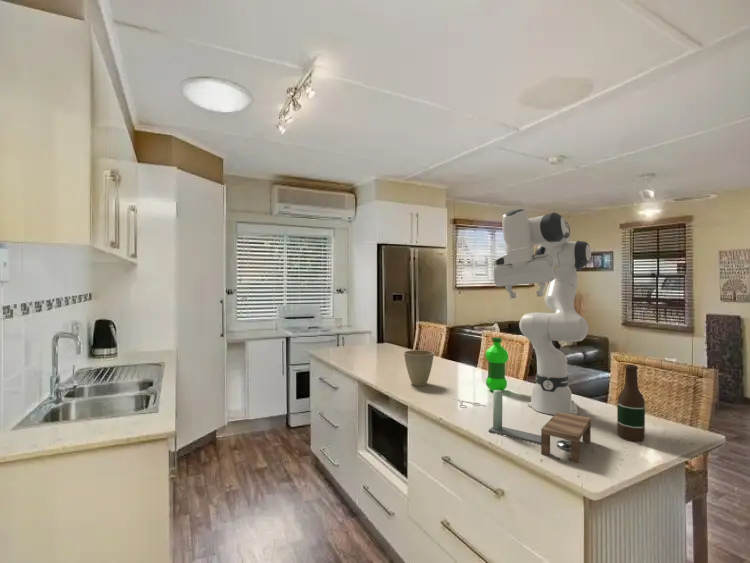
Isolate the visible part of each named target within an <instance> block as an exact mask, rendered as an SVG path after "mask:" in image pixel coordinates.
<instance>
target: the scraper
mask: <svg viewBox="0 0 750 563" xmlns="http://www.w3.org/2000/svg"><path fill="white" fill-rule="evenodd" d="M492 392H493V396H492V397H493V398H492V404H493V405H492V406H493V407H492V408H493V410H492V411H493V412H492V417H493V418H492V426H491V428H489V429H488V432H489V433H491V432H493V433H492V434H495V433H497V434H496V435H499V434H501V435H500V436H503V435H506V436H505V437H507V436H509V437H508V438H511V437H513V438H512V439H515V438H517V439H516V440H519V439H521V440H520V441H523V440H525V441H524V442H527V441H529V443H532V442H534V443H533V444H536V443H537V444H536V445H540V446H541V434H540V435H539V434H535V433H532V432H529V431H528V432H527V431H522V430H519V429H514V428H510V427H505V426H503V391H501V390H493V391H492Z"/></svg>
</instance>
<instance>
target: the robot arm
mask: <svg viewBox="0 0 750 563" xmlns="http://www.w3.org/2000/svg"><path fill="white" fill-rule="evenodd" d="M501 220H502V225H501V226H502V227H501V228H502V235H503V240H504V243H505V254H504V255H502V256H499V257H498V258H495V259H494V260H493V266H495V267H494V269H493V282H494V285H495V286H496V287H505V291H507V293H508V294H509V298H510V299H516V298H517V292H514V291H513V290H512V288H513V286H519V285H528V284H529V285H530V284H531V285H532V284H537V285H538V287H539V290H536V296H537V297H543V296H544V303H545V306H546V307H547V308H549V310H551V311H552V312H539V311H538V312H536V311H535V312H529V313H524V315H522V317H521V318H520V320H519V323H518V326H519V330H520V332H521V334H522V335H523V336H524V337H525V338H526V339H527V340H528V341H529V342H530V343H531V345H532V346H533V349H534V351H535V355H536V373H535V384H534V385H532V388H531V398H530V399H531V401H529V402H527V405H526V406H527V407H531V408H532V409H533V410H534V411H537V412H540V413H543V414H546V415H547V414H548V415H553V416H554V415H555V414H556V413H557V412H562V413H567V414H572V415H577V416H578V414H579V413H578V403H577V402H575V401H574V400H572V391H571V388H570V386H569V385H570V384H569V375H568V358H567V355H566V354H565V353H564V352H562V351H561V350H560V349H557V348H556V347H555V346H554V344H553V341H556V342H563V343H575V342H582V341H583V340H585V339H586V337H587V335H588V333H589V325H588V323H587V321H586V320H585V318H584V317H583V316H581V315H580V314H579V313H578V312H577V311H576V309H575V297H576V292H577V287H578V286H577V285H578V274H577V271H578V272H579V271H582V270H583V268H585V267H586V266H587V265H588V264H589V262H590V261H591V257H592V249H591V245H589V243H588V242H587V241H584V240H583V241H582V240H576V241H575V240H574V241H571V240H570V238H571V237H570V236H571V229H570V225H569V223H568V222H567V221H565V219H564V217H563V216H562V215H561V214H559V213H557V212H551V213H547V214H545V215H544V214H543V215H540V216H535V217H530V218H529V217H528V215H527V212H526V210H525V209H523V208H519V209H514V210H511V211H508V212H505V213H504V214H502V218H501ZM569 240H570V241H569ZM537 245H538V246H537ZM534 246H536V249H535V252H534ZM554 268H555V269H554ZM546 283H548V284H547V287H546ZM545 287H546V291H545V295H544V290H545Z"/></svg>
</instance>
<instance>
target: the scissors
mask: <svg viewBox="0 0 750 563" xmlns="http://www.w3.org/2000/svg"><path fill="white" fill-rule="evenodd" d="M444 396H445V397H447V398H450V399H452V400H455V401H457V402H459V403H460V404H459V405H458V406H459V408H463V409H466V408H468V406H467V405H465V404H463V403H467V404H471V405H473V406H475V407H476V406H477V407H479V406H481V407H486V404H481V403H479V402H471V401H465V400H461V399H459V398H458V397H456V395H453V394H451V396H452V397H451V396H447V395H445V394H444Z"/></svg>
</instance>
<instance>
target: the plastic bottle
mask: <svg viewBox="0 0 750 563" xmlns="http://www.w3.org/2000/svg"><path fill="white" fill-rule="evenodd" d="M491 342H492V345H491V346H490V347H488V348H487V349H486V351H485V360H486V361H487V377H486V379H485V384H486V387H487V389H489V390H490V391H491V392H493V390H501V391H502V392H503V391H504V390H505V389H506V388H507V386H508V383H507V379H506V362H508V359H509V355H508V352H507V350H506V349H505V348H504V347H503V346H501V343H502V337H497V336H495V337H491Z"/></svg>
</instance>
